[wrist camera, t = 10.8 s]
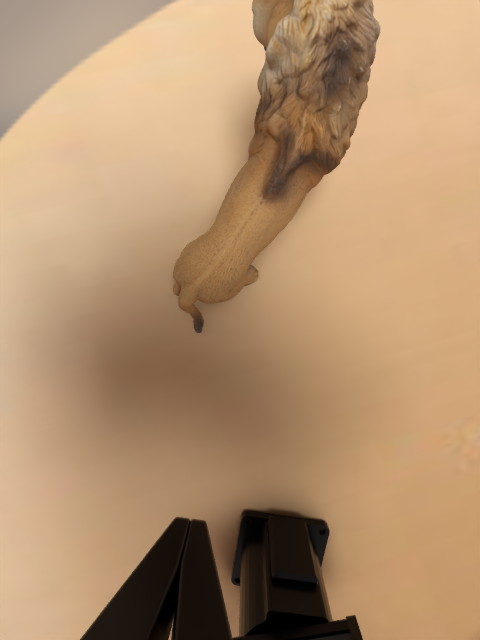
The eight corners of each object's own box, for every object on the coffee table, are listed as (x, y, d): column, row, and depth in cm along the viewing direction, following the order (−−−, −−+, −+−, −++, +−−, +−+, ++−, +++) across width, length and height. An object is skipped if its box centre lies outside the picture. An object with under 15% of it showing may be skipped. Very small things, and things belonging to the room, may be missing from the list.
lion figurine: (261, 77, 16) (275, -137, 7) (347, 121, 17) (457, -36, 8) (164, 314, 19) (91, 362, 10) (238, 347, 19) (229, 421, 11)
